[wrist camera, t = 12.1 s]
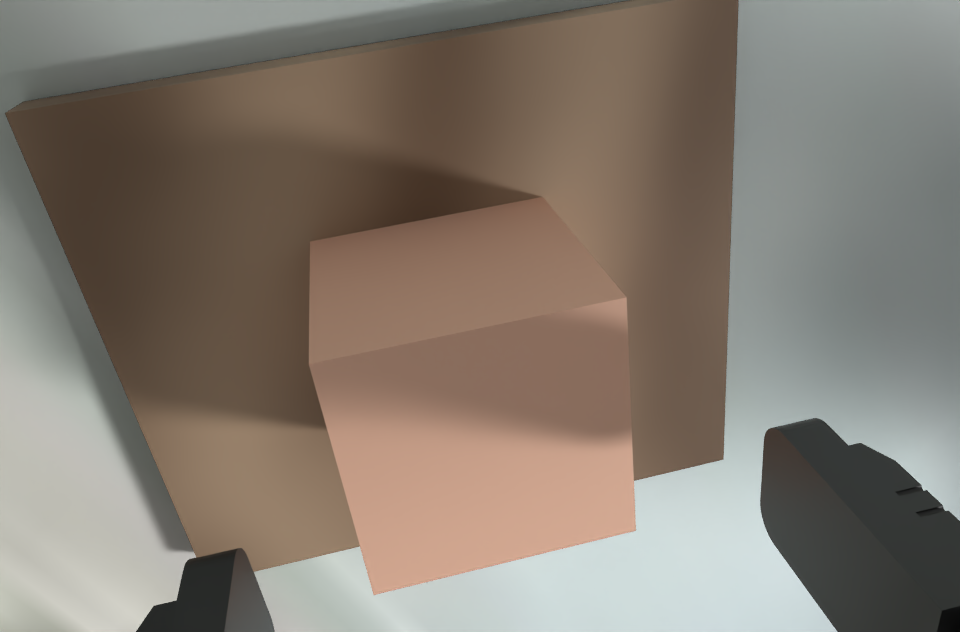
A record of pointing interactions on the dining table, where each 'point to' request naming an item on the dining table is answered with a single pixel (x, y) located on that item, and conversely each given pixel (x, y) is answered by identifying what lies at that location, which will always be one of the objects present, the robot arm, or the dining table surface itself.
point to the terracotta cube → (472, 390)
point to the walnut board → (381, 203)
